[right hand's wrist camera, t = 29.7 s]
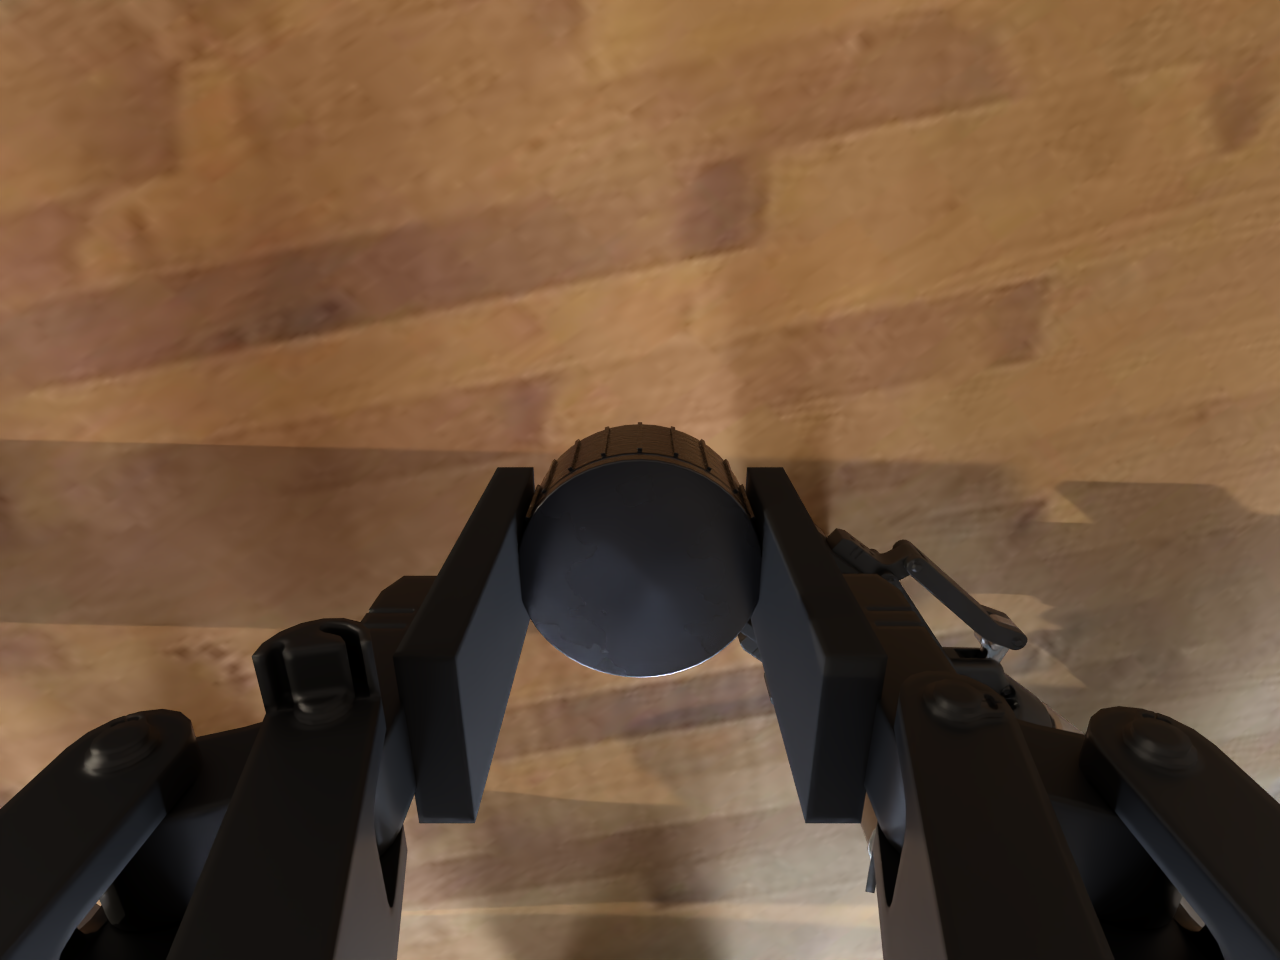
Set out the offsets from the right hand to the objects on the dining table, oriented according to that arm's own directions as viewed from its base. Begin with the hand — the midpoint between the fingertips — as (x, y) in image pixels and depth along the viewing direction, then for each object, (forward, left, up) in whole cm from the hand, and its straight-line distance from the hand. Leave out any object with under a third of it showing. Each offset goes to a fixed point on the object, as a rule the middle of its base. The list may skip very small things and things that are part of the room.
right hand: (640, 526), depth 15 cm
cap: (0, 0, +2) cm, 2 cm away
